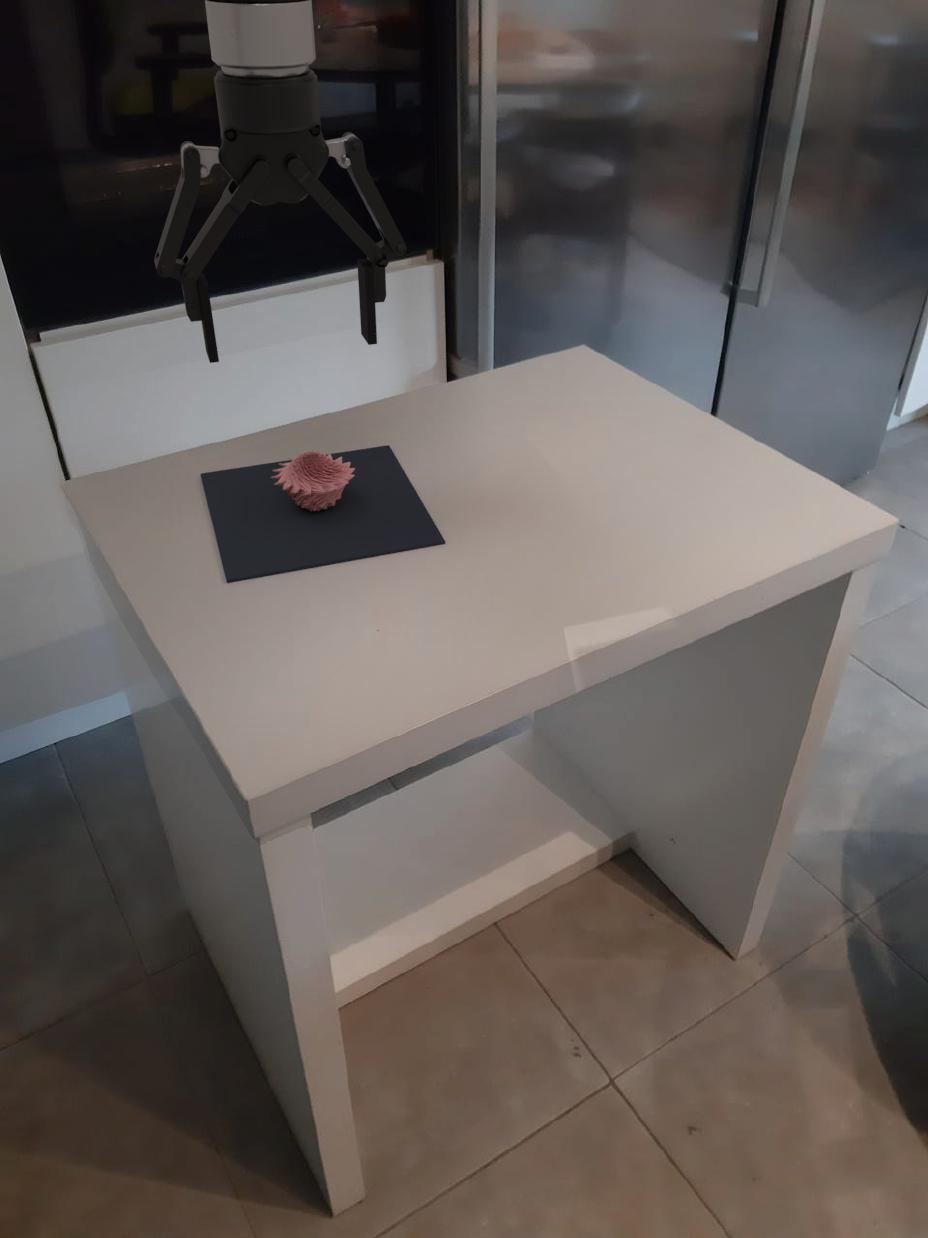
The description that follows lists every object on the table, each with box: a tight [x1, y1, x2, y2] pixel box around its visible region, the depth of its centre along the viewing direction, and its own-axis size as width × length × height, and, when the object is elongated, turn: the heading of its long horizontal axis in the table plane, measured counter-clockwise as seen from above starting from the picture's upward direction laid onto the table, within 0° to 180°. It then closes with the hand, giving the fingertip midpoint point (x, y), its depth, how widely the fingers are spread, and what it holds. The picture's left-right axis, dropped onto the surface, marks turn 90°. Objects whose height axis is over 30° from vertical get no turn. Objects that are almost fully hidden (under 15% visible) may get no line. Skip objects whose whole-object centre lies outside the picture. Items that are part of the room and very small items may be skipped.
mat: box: [200, 444, 446, 584], centre depth 96 cm, size 20×20×1 cm
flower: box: [271, 450, 355, 511], centre depth 94 cm, size 8×8×6 cm
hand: (292, 347), depth 85 cm, fingers open, 13 cm apart
